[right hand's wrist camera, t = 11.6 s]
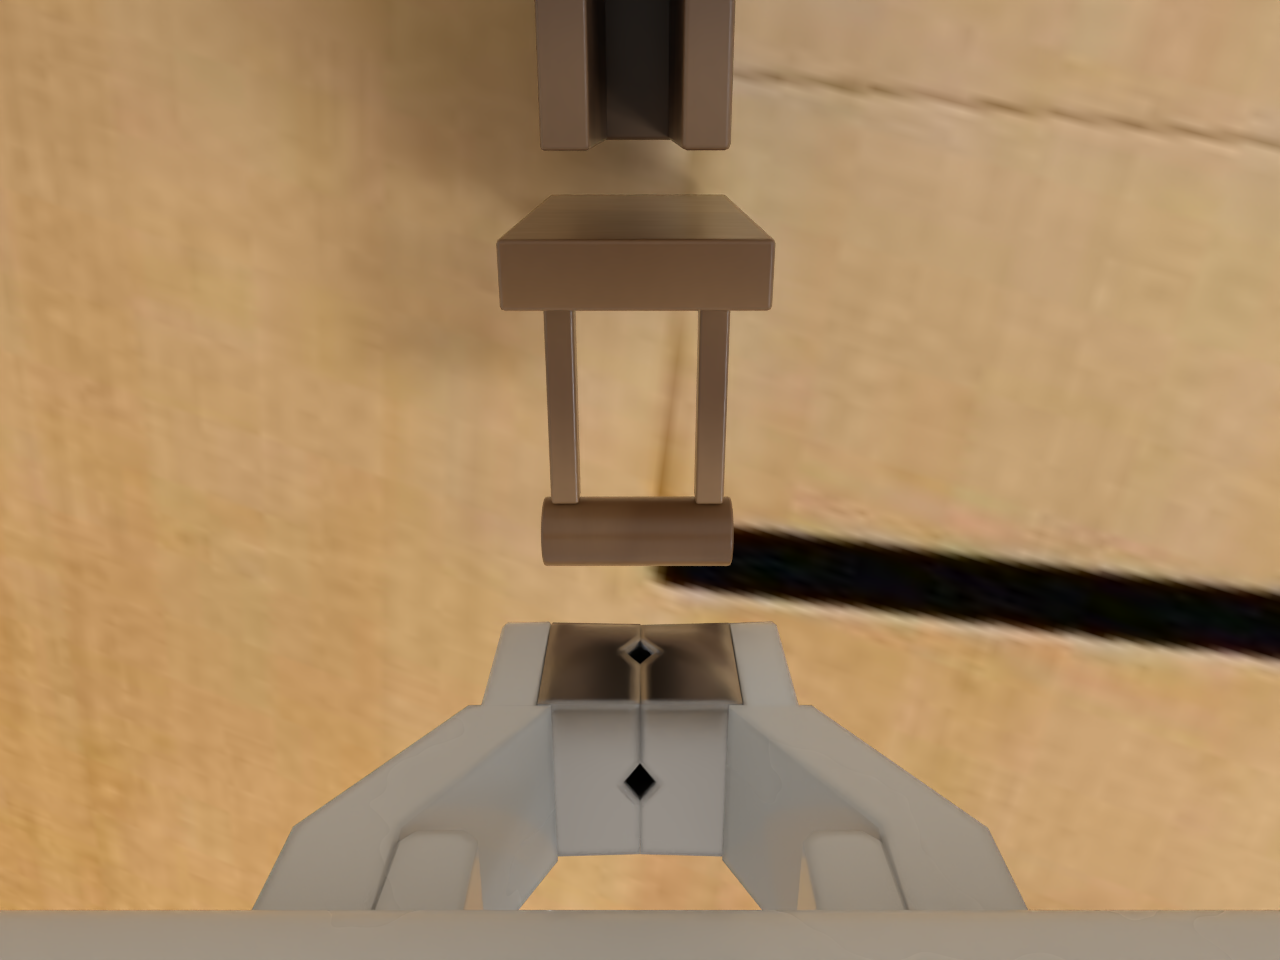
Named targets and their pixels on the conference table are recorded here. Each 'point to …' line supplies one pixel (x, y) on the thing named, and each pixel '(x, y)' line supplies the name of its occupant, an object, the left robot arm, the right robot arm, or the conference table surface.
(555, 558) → the drawer
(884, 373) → the conference table surface
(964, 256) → the conference table surface
